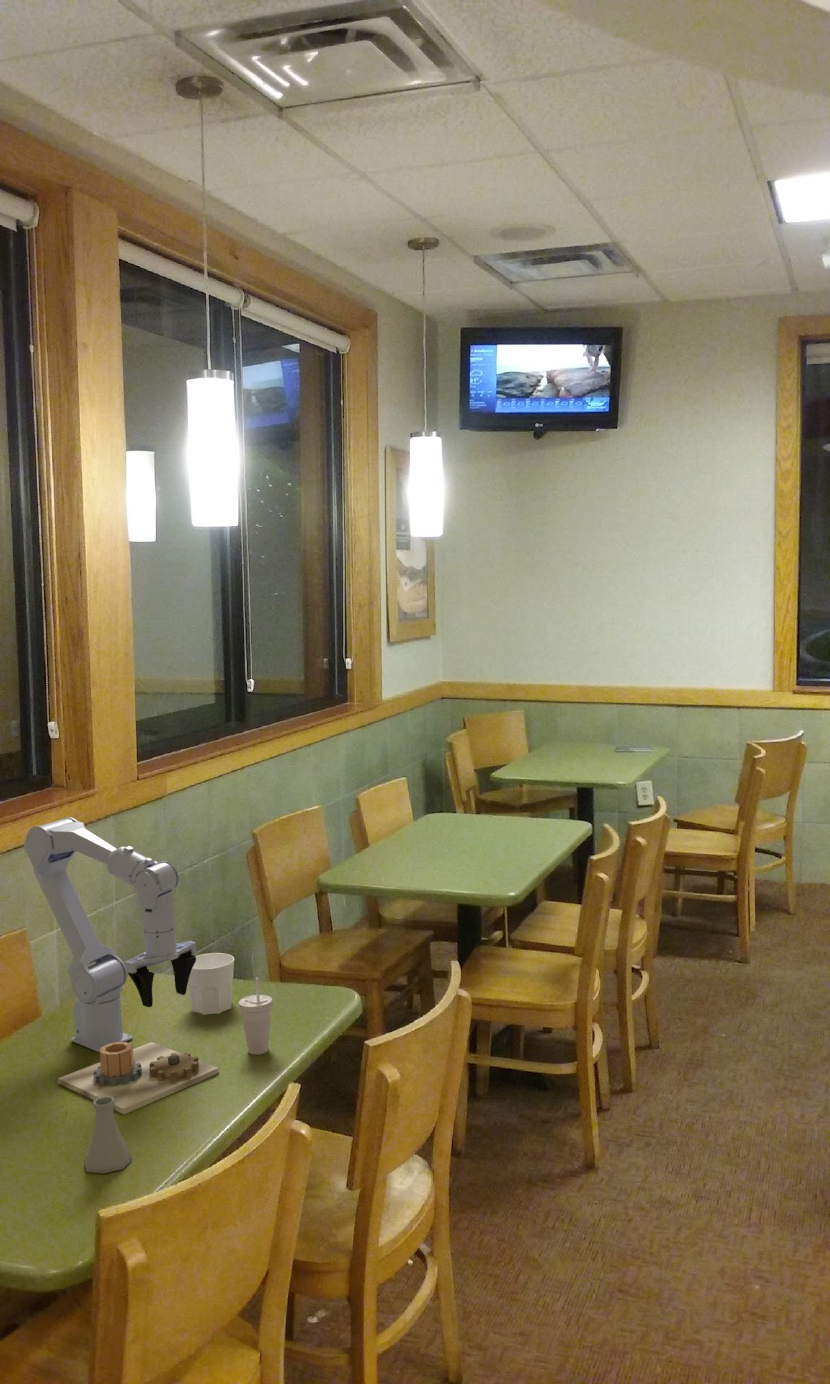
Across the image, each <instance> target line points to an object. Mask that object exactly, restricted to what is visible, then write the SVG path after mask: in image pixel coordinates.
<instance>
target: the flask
mask: <svg viewBox="0 0 830 1384" xmlns="http://www.w3.org/2000/svg"><path fill="white" fill-rule="evenodd" d="M114 1102H115V1101H114V1098H113V1097H109V1096H105V1097H100V1098H97V1099H96V1100H92V1104H93V1107H94V1109H95V1118H94V1127H93V1130H92V1134H91V1139H90V1141H89V1142H90V1143H89V1145H88V1149H87V1152H86V1155H85V1159H84V1162H83V1164H84V1165H83V1166H84V1168H85V1171H86V1173H94V1174H96V1173H97V1174H107V1173H111V1172H116V1171H121V1170H124V1169H125V1168H126V1167H127V1166H128V1165H129V1164H130V1163H131V1161H132V1160H133V1159H132V1156H131V1153H130V1150H129V1148H128V1146H127V1144H126V1141H125V1140H124V1138H123V1136H122V1133H121V1131H120V1129H119V1127H118V1124H117V1121H116V1118H115V1113H114V1110H113V1104H114Z"/></svg>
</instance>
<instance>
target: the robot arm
mask: <svg viewBox="0 0 830 1384" xmlns="http://www.w3.org/2000/svg"><path fill="white" fill-rule="evenodd" d="M23 848H24V851H25V852H26V854H27V856H28V858H29V860H30V862H31V865H32V867H33V872H34V875H35V878H36V880H37V882H38V884H39V887H40V889H41V890H42V893H43V895H44V897H45V899H46V901H47V903H48V905H49V907H50V910H51V911H52V914H53V916H54V918H55V921H56V922H57V925H58V927H59V929H60V931H61V933H62V935H63V937H64V939H65V942H66V943H67V945H68V948H69V950H70V952H71V953H72V955H73V956H72V959H71V960H70V961H71V962H70V964H69V966H68V967H67V974H68V976H69V977H70V982H71V983H70V985H71V989H72V992H73V993H74V996H75V997H76V999H75V1001H74V1004H73V1008H72V1011H73V1012H72V1013H73V1023H74V1024H73V1025H74V1026H73V1027H74V1036H73V1037H71V1041H72V1042H74V1043H76V1044H78V1045H81V1046H83V1047H85V1048H87V1049H90V1050H93V1051H95V1052H97V1053H100V1049H101V1048H102V1047H103V1046H105V1045H107V1044H110V1043H114V1042H129V1041H131V1040H133V1036H132V1035H130V1034H129V1033H128V1034H127V1033H125V1032H124V1029H123V1028H124V1027H123V1014H122V1002H121V1001H122V1000H121V993H122V992H123V986H124V985H125V984H126V983H127V979H128V976H129V978H130V979H131V981H133V983H134V984H133V985H135V987H136V990H137V992H138V994H139V996H140V1000H141V1003H142V1006H144V1007H146V1008H151V1007H153V1002H154V1000H153V999H154V997H153V982H154V978H155V977H154V976H155V973H154V972H152V971H150V970H149V967H151V966H155V965H159V964H160V963H161V964H162V963H164V962H167V961H170V962H171V966H172V969H173V976H174V987H175V991H176V994H178V995H180V996H181V995H182V996H184V995H186V994H187V989H188V980H189V976H190V973H191V970H192V968H193V966H194V964H195V962H196V956H197V955H195V954H196V953H197V944H196V942H195V941H192V940H188V941H187V940H186V941H183V942H180V943H177V934H176V933H177V932H176V918H175V917H176V916H175V905H174V904H175V901H174V900H175V899H174V890H175V889H176V888H178V885H179V881H180V879H179V878H180V877H179V876H180V875H179V872H178V870H177V868H176V867H175V866H174V865H173V864H172V863H170V862H169V861H167V860H160V861H159V862H158V861H156V860H155V861H154V859H153V858H151V857H147V856H144V855H142V854H140V853H139V852H137V851H135V848H134V847H132V846H131V845H128V846H120V847H118V848H116V847H115V846H113V845H111V844H110V843H108V842H106V840H104V839H102V838H101V837H100V836H97V835H96V834H94V833H93V832H91V831H89V830H88V829H86V826H85V823H84V822H82V821H79V820H77V819H75V818H73V817H70V816H67V817H64V818H62V819H60V820H59V819H58V820H55V821H52V822H48V823H44V824H42V825H41V824H40V825H36V826H33V827H31V828H30V829H29V830H28V831H27V833H26V836H25V840H24V844H23ZM76 853H80V854H82V855H84V856H87V857H89V858H90V859H93V860H96V861H98V862H100V863H102V864H104V865H106V868H107V871H108V873H109V875H112V876H114V877H116V878H117V879H118V880H121V881H123V882H125V883H127V884H128V885H129V886H132V887H133V889H134V892H135V893H136V895H137V896H138V899H139V905H140V907H141V908H142V920H143V921H142V922H143V934H144V946H145V947H144V952H142V953H140V954H138V955H136V956H135V957H133V958H130V959H128V960H126V961H125V962H124V961H123V960H122V959H121V958H120V957H119V956H118V955H117V954H116V952H115V950H114V947H111V946H109V945H106V944H103V943H102V942H101V941H100V940H99V937H98V935H97V933H96V931H95V930H94V926H93V924H92V923H91V920H90V919H89V916H88V914H87V912H86V910H85V909H84V906H83V904H82V902H81V900H80V897H79V895H78V894H77V891H76V890H75V888H74V886H73V883H72V881H71V879H70V877H69V874H68V873H67V868H68V865H69V863H70V862H71V860H72V859H73V857H74V855H75V854H76ZM194 953H195V954H194ZM193 954H194V955H193ZM91 964H92V965H91Z"/></svg>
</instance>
